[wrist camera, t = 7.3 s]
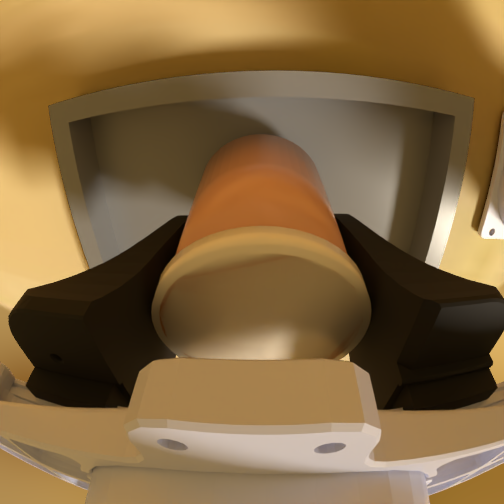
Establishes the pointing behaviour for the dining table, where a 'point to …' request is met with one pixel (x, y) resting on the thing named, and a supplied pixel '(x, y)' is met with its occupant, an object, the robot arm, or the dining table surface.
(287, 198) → the cup
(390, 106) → the serving tray
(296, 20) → the dining table surface
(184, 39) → the dining table surface
